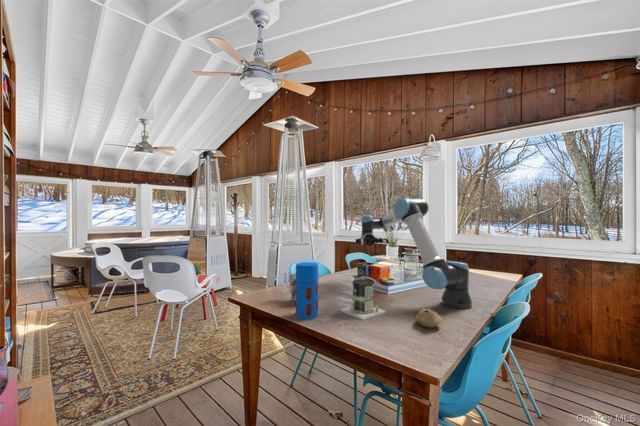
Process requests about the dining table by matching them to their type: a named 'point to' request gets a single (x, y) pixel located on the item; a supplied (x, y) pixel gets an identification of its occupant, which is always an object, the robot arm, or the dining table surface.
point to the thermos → (306, 290)
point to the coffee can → (363, 296)
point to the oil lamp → (428, 318)
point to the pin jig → (363, 315)
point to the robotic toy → (293, 285)
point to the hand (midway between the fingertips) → (374, 242)
